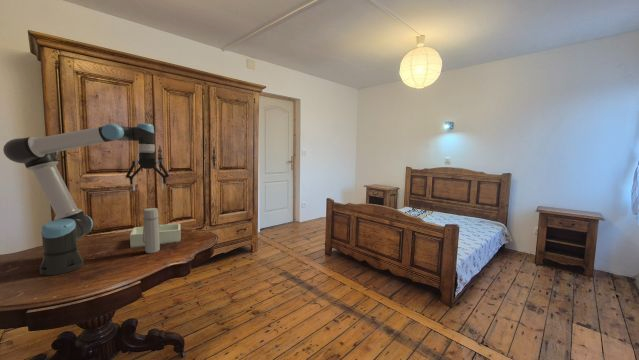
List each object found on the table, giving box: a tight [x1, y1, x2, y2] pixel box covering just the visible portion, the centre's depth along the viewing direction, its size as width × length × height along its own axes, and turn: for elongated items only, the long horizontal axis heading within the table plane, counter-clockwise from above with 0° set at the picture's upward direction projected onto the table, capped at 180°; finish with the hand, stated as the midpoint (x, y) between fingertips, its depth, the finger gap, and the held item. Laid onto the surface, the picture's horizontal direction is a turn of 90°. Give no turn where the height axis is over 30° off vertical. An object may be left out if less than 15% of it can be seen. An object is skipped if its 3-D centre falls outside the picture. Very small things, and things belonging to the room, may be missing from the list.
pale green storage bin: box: [129, 222, 182, 249], centre depth 169 cm, size 26×16×8 cm, turn 118°
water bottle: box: [141, 207, 161, 254], centre depth 151 cm, size 9×8×25 cm
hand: (148, 189), depth 148 cm, fingers open, 13 cm apart
